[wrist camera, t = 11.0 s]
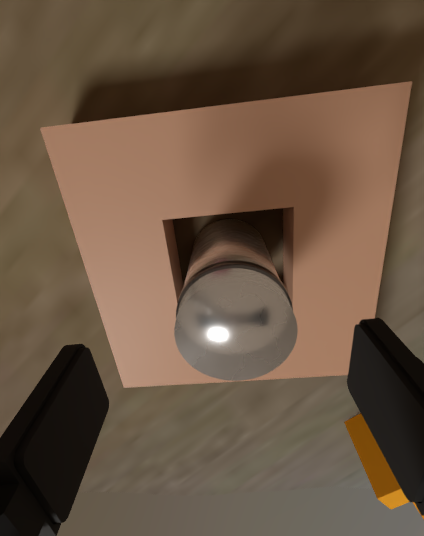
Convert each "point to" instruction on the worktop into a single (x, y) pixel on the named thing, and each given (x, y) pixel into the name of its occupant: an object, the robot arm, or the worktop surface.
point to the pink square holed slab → (233, 201)
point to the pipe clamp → (375, 464)
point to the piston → (233, 306)
